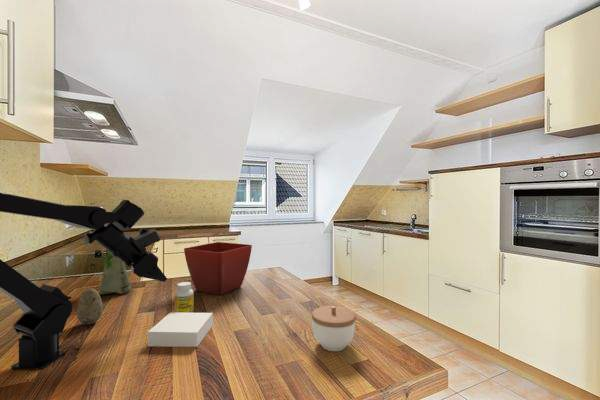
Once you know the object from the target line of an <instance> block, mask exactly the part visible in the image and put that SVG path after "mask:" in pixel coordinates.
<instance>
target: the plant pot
mask: <svg viewBox="0 0 600 400" xmlns="http://www.w3.org/2000/svg"><path fill="white" fill-rule="evenodd" d="M252 247H253V245H252V244H245V243H235V242H223V241H216V242H211V243H205V244H200V245H199V244H198V245H194V246H189V247H185V248H183V251H184V252H183V253H184V257H185V261H186V266H187V270H188V273H189V276H190V278H191V281H192V283H193V286H194V289H195V290H196V291H198V292H202V293H206V294H207V293H208V294H211V295H217V296H221V295H224V294H226V293H229V292H231V291H233V290H236V289H238V288H241V287H242V285H243V283H244V280H245V277H246V274H247V271H248V268H249V264H250V260H251V254H252V253H251V252H252Z"/></svg>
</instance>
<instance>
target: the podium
mask: <svg viewBox="0 0 600 400" xmlns="http://www.w3.org/2000/svg"><path fill="white" fill-rule="evenodd" d="M213 319H214V313H213V312H194V313H184V312H175V311H174V312H173V311H172V312H171V311H170V312H169V313H168V314H167V315H165V317H163V318H162V319H161V320H160V321H159V322H157V323H156V324H155V325H154V326H153V327H152V328H151V329H149V330H148V331H147V347H163V348H164V347H168V348H169V347H172V348H175V347H176V348H177V347H178V348H179V347H180V348H181V347H182V348H184V347H186V348H197V347H198V346H199V345H200V344H201V342H202V341H203V339H204V338H205V337H206V335H207V334H208V332H209V331H210V330H211V328H212V327H213V326H214V325H213V324H214V322H213V321H214V320H213Z"/></svg>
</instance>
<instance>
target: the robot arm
mask: <svg viewBox="0 0 600 400" xmlns="http://www.w3.org/2000/svg"><path fill="white" fill-rule="evenodd" d="M0 213H5V214H12V215H19V216H27V217H32V218H41V219H47V220H53V221H56V222H60V223H62V224H65V225H68V226H71V227H74V228H77V229H84V230H85V229H87V230H93V231H92V232H89V233H84V235H83V237H84V245H85V246H88V245H91V244H93V243H94V242H96V243H97V244H98V245H100V246H102V247H103V248H104V249H105V250H108V251H109V252H111V253H112V254H113V255H114V256H115V257H117V258H119V259H120V260H121V261H123V262H124V264H125V266H128V267H130V269H131V270H130V271H131V272H132V273H133V274H135V276H137V277H139V278H144V279H150V280H155V281H160V282H163V283H164V282H166V281H167V280H168V278H167V276H166V275H165V273H164V272H162V270H161V269H160V267H159V265H158V261H159V257H158V256H156V255H155V254H154V253H153V252H151V251H147V247H148V246H151V245H153V244H155V243H158V242H160V241H161V240H162V238H161V237H160V235H159V233H158V231H157V230H156V229H154V228H152V229H151V228H150V229H149V230H148V229H146V228H144V227H143V228H141V229H140V230H139V231H138V235H136V236H135V237H132V236H131V235H128V234H126V233H125V232H124V231H125V230H127V231H130V230H131V229H132V228H133V227H134V226H135V225H136V224H137V223H139V221H140V220H141V218H143V217H144V215H145V211H144V210H143V209H142V207H140V206H138V205H137V204H135V203H133V202H132V201H130V200H129V199H122V200H121V201H120V203H119V204H118V205H117V206H115V208H114V209H113V210H111V211H107V209H106V208H104V207H102V206H99V205H75V204H73V205H71V204H70V205H69V204H62V203H57V202H52V201H48V200H47V201H46V200H41V199H35V198H31V197H25V196H21V195H15V194H10V193H5V192H2V191H0ZM0 291H1V292H2V293H4V294H5V295H7V296H9V297H10V298H12V300H14V301H15V302H16V303H17V305H18V307H19V308H20V310H21V311H22V312H23V314H22V315H21V316H20V317H19V318H18V319H17V321H16V322H15V323H13V325H12V328H13V329H14V331H15V333H16V334H20V335H21V337H20V338H18V361H17V362H16V363H14V364H13V365H11V366H10V369H11V370H42V369H44V368H45V367H47V366H48V365H50V364H51V363H52V362H54V361H56V360H57V359H60V358H61V357H62V356H64V355H65V354H66V350H60V334H62V333H63V331H64V330H65V327H66V324H67V322H68V318H69V317H70V316H71V314H72V313H73V307H74V304H73V303H72V301H71V299H72V296H68V295H66V294H64V292H63V291H62V290H61V289H60V288H59V287H58V286H57V287H56V286H54V285H53V286H52V285H49V284H45V283H43V284H42V285H41V286H40V287H39V286H38V285H36V284H35V283H34V282H32V281H31V280H29V279H28V278H27V277H25V276H24V275H22V274H21V273H20V272H19V271H17V270H16V269H14V268H13V267H11V266H10V265H8V263H6V262H5V261H3V260H2V259H1V258H0Z"/></svg>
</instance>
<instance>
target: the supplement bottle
mask: <svg viewBox="0 0 600 400" xmlns="http://www.w3.org/2000/svg"><path fill="white" fill-rule="evenodd" d="M176 289H177V290H176V291H175V292H174V312H184V313H195V312H194V310H195V309H194V307H195V305H194V300H195V299H194V298H195V297H194V294H195V293H194V290H193V289H192V283H191V282H190V281H183V282H179V283H177V285H176Z"/></svg>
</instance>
